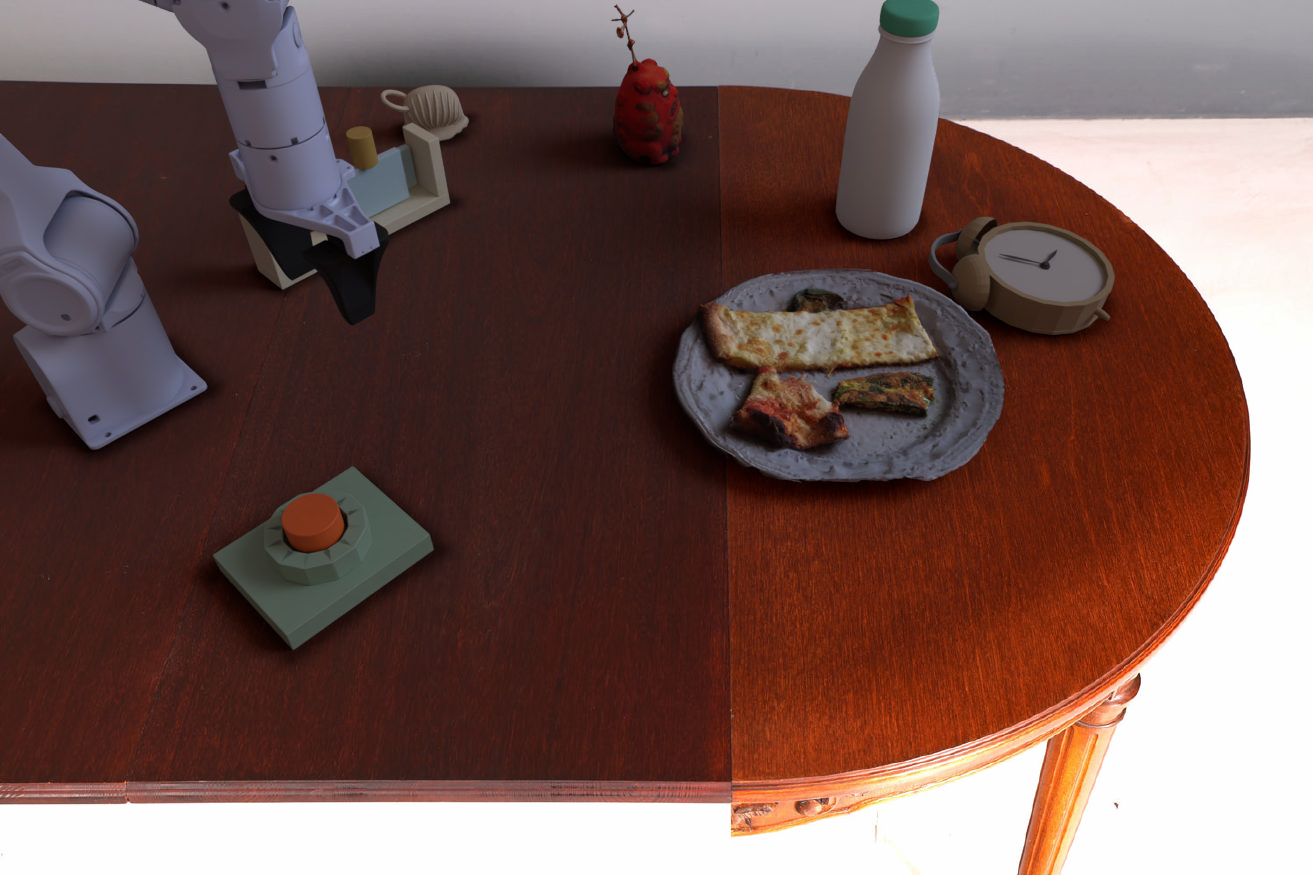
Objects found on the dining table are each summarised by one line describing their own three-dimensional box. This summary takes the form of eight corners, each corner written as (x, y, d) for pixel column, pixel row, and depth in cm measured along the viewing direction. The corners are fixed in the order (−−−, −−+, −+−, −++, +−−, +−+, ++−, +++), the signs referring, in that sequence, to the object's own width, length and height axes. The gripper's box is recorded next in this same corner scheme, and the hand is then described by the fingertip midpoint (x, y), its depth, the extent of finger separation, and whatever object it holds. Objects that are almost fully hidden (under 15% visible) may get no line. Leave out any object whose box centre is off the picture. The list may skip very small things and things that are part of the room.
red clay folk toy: (680, 171, 103) (680, 22, 93) (609, 169, 104) (602, 21, 93) (684, 131, 109) (685, -14, 98) (617, 129, 109) (611, -15, 98)
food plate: (672, 499, 74) (672, 465, 71) (671, 293, 90) (671, 259, 87) (1028, 498, 73) (1040, 464, 71) (963, 291, 90) (971, 258, 87)
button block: (293, 650, 66) (278, 618, 63) (220, 570, 70) (203, 537, 67) (434, 550, 71) (425, 517, 68) (357, 481, 75) (346, 448, 73)
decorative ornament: (472, 137, 108) (465, 89, 104) (391, 148, 107) (380, 100, 103) (467, 118, 111) (460, 70, 107) (388, 128, 110) (378, 81, 106)
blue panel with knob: (345, 234, 94) (324, 155, 88) (332, 225, 95) (310, 146, 89) (414, 200, 98) (398, 122, 92) (400, 191, 99) (383, 113, 93)
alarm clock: (1119, 320, 82) (935, 263, 83) (1090, 364, 86) (914, 309, 87) (1117, 239, 90) (948, 187, 91) (1090, 283, 93) (928, 232, 94)
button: (308, 562, 66) (300, 545, 65) (277, 531, 68) (270, 514, 67) (355, 530, 68) (349, 513, 67) (324, 501, 70) (318, 484, 69)
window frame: (282, 290, 91) (259, 222, 86) (258, 271, 93) (234, 203, 88) (450, 203, 100) (438, 137, 95) (425, 187, 102) (412, 122, 97)
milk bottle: (924, 242, 95) (969, 26, 80) (838, 242, 95) (868, 27, 80) (911, 194, 100) (951, -16, 86) (830, 194, 100) (856, -15, 86)
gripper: (399, 142, 65) (435, 311, 75) (272, 68, 72) (320, 232, 82) (302, 188, 62) (353, 360, 72) (179, 106, 69) (240, 272, 79)
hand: (330, 294), depth 77 cm, fingers open, 7 cm apart
